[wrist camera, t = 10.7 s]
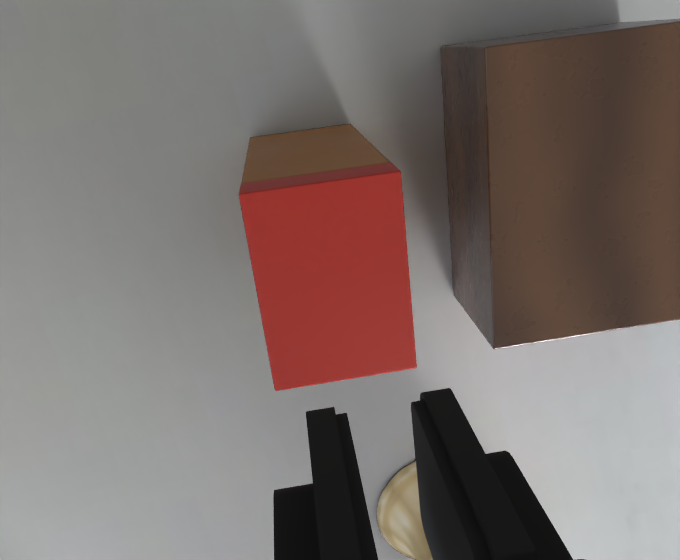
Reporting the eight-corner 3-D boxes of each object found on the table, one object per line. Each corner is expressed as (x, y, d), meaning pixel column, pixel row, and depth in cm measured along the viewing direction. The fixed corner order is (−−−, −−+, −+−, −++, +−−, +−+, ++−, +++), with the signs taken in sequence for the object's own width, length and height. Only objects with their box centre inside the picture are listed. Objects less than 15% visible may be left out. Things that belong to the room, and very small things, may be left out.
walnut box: (453, 295, 34) (493, 350, 28) (439, 46, 29) (485, 46, 23) (609, 271, 34) (682, 319, 28) (621, 22, 30) (712, 16, 23)
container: (301, 252, 34) (134, 362, 24) (282, 126, 32) (86, 190, 22) (493, 266, 29) (382, 413, 19) (489, 116, 26) (358, 195, 16)
